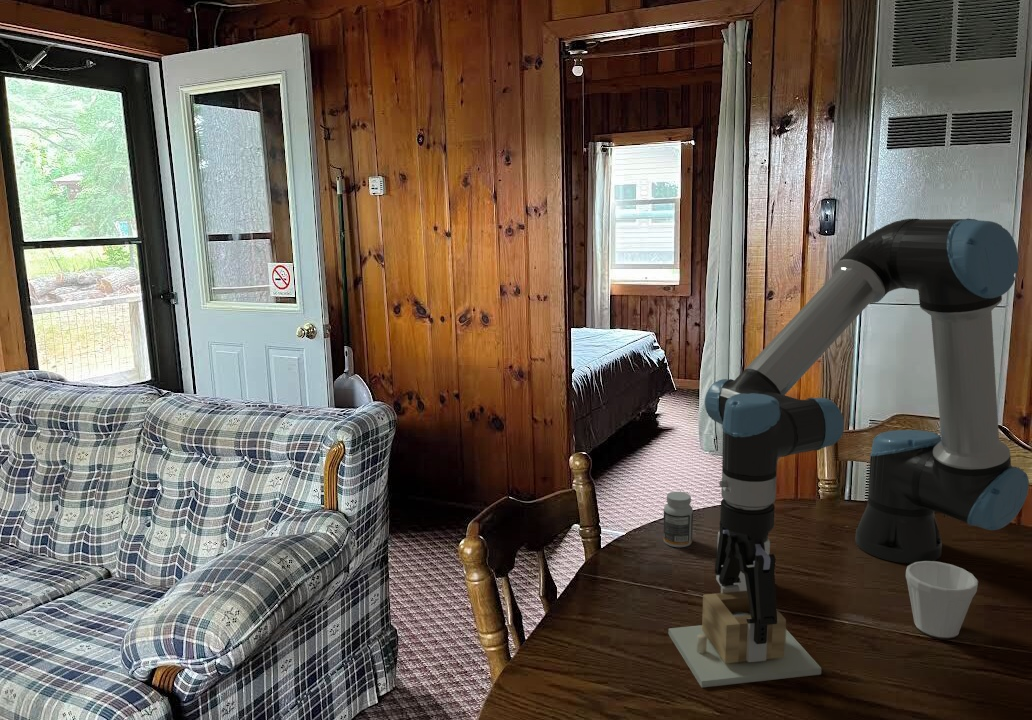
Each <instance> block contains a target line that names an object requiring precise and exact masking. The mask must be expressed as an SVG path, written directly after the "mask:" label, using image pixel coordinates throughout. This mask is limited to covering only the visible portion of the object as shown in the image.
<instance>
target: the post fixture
mask: <svg viewBox="0 0 1032 720" xmlns="http://www.w3.org/2000/svg"><path fill="white" fill-rule="evenodd" d="M732 615H733V616H734V617H738V616H748V615H751V614H749V613H746V612H735V613H733V614H732ZM668 636H669V638H670V639H671V641H672V642H673V644H674V646H675V647H676V649H677V650H678V652H679V654H680V655H681V657H682V658H683V660H684V662H685V663H686V665H687V666H688V669H690V671H691V673H692V675H693V677H695V679H696V681H697V684H699V686H700V687H701V688H708V687H709V688H710V687H718V686H719V687H720V686H727V685H728V686H729V685H737V684H748V683H755V682H764V681H772V680H774V681H775V680H781V679H791V678H800V677H801V678H803V677H808V676H809V677H810V676H820V675H822V667H821V666H820V665H819V663H818V662H816V660H815V659H814V658H813V657H812V655H810V654H809V652H808V651H806V649H805V648H804V647H803V646H802V645H801V643H799V642H798V641H797V639H796V638H795V637H794V636H793V635H792V634H791V633H790V631H788V629H787V628H786V629H785V647H784V657H779V658H770V659H766V661H756V662H748V661H741V662H731V663H725V662H724V661H723V659H722V658H721V656H720V655H719V654H718V652H717V651H716V649H715V648H714V646H713V645H712V644H711V642H710V641H709V639H708V638H707V636H706V635H705V634H704V632H703V631H702V624H701V625H699V624H698V625H690V626H681V627H672V628H671V627H670V628H668Z"/></svg>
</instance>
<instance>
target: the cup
mask: <svg viewBox="0 0 1032 720" xmlns="http://www.w3.org/2000/svg"><path fill="white" fill-rule="evenodd" d="M905 580H906V584H907V589H908V595H909V599H910V604H911V611H912V612H911V613H912V616H913V623H914V625H915V627H916V629H917V630H918V631H920V632H921V633H922V634H924V635H926V636H929V637H932V638H936V639H942V640H949V639H955V638H956V637H957V636H958V635H959V633H960V630H961V628H962V626H963V623H964V621H965V619H966V615H967V613H968V611H969V608H970V605H971V602H972V600H973V598H974V597H975V596H976V593H977V591H978V585H979V580H978V579H977V578H976V577H975V576H974V574H973V573H971V571H967V570H966V569H965V568H962V567H959V566H957V565H954V564H952V563H951V564H950V563H946V562H941V561H921V562H915V563H913V564H909V565H907V566H906V570H905Z"/></svg>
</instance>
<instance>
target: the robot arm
mask: <svg viewBox="0 0 1032 720" xmlns="http://www.w3.org/2000/svg"><path fill="white" fill-rule="evenodd" d="M1018 270H1019V252H1018V248H1017V245H1016V242H1015V240H1014V238H1013V236H1012V234H1011V233H1010V232H1009V231H1008V229H1006V228H1004V227H1003V225H1001V224H999V223H998V222H995V221H989V220H980V219H975V218H953V219H951V218H949V219H948V218H945V219H944V218H942V219H941V218H939V219H938V218H935V219H933V218H932V219H931V218H929V219H928V218H927V219H926V218H925V219H924V218H906V219H900V220H897V221H893V222H891V223H888V224H886V225H884V226H882V227H880V228H878V229H877V230H875V231H873V232H872V233H870V234H868V235H867V236H866V237H864V238H862V240H860V241H858V242H857V243H856V244H855V245H854V246H853V247H851V248H850V249H849V250H847V252H846V253H845V254H844V255H843V256H842V257H841V258H840V259H839V260H838V261H837V262H836V263H835V265H834V266H833V269H832V274H833V275H831V277H830V278H829V279H828V280H827V281H826V282H825V283H824V284H823V286H821V288H819V290H818V291H817V292H816V293H815V294H814V295H813V296H812V297H811V298H810V300H808V301H807V303H806V304H805V305H803V307H802V308H801V309H800V310H799V311H798V312H797V313H796V314H795V315H794V317H792V318H791V320H789V322H788V323H787V324H786V325H785V326H784V327H783V328H782V329H781V330H780V331H779V332H778V334H776V335H775V337H774V338H773V339H772V340H771V341H770V342H768V344H767V345H766V346H765V347H764V348H763V349H762V350H761V351H760V353H759V354H757V356H756V357H755V358H754V359H753V360H752V361H751V362H750V364H749V365H747V366H746V367H745V369H744V370H743V371H742V372H741V373H740V374H739V375H738V376H737V377H736V378H735V379H731V378H722V379H719V380H717V381H715V382H714V383H712V384H711V386H709V388H708V390H707V392H706V394H705V397H704V408H705V412H706V413H707V416H708V417H709V418H710V419H711V420H713V421H714V422H715V423H718V424H720V425H722V426H721V427H722V459H721V461H722V462H721V463H722V464H721V465H722V466H721V470H722V471H721V480H720V481H719V487H720V488H721V493H720V494H721V497H722V499H721V501H720V513H719V514H720V516H719V517H720V518H719V531H720V536H719V543H718V549H716V559H715V562H714V563H715V565H714V574H715V576H716V575H719V582H720V584H722V586H720V593H727V592H738V591H739V586H738V585H734V583H741V581H740V578H739V574H740V571H741V572H742V573H744V575H745V581H746V587H747V594H748V600H749V607H750V613H751V618H748V619H746V620H747V623H748V629H747V653H746V660H747V661H748V662H756V661H766V652H767V631H768V625H772V624H777V610H778V609H777V594H776V579H775V567H776V560H777V559H776V556H775V554H774V553H769V554H767V553H766V552H765V545H764V538H763V537H764V536H765V535H766V534H767V533H768V532H769V533H770V532H772V530H773V529H774V525H775V512H776V511H775V504H774V503H775V502H776V492H777V489H776V488H777V472H778V471H777V469H778V458H779V459H780V458H783V457H788V456H792V455H797V454H802V453H808V452H812V451H814V452H815V451H819V450H822V449H823V448H827V447H830V446H833V445H835V444H836V443H838V442H839V441H840V439H841V437H842V436H843V433H844V428H845V426H844V424H845V420H844V416H843V414H842V411H841V409H840V408H839V406H838V405H837V404H836V403H835V402H834V401H833V400H830V399H829V398H827V397H807V398H806V399H800V398H795V397H792V396H789V395H787V393H789V391H790V390H791V389H792V388H793V387H794V386H795V385H796V384H797V383H798V381H799V380H801V378H802V377H803V376H804V375H805V374H806V372H808V371H809V369H810V368H811V367H812V366H813V365H814V364H815V363H817V361H818V360H819V359H820V357H822V355H823V354H825V352H826V351H827V350H828V349H829V348H830V347H831V346H832V345H833V344H834V342H836V340H837V339H838V338H840V336H841V335H842V334H843V333H844V332H845V330H846V329H847V328H848V327H849V326H850V325H851V324H852V323H853V322H854V320H856V319H857V318H858V316H859V315H860V314H861V313H862V312H863V311H864V310H865V309H866V308H867V307H868V305H869V304H876V303H879V302H881V300H883V298H884V297H885V296H887V294H888V293H890V292H892V291H894V290H898V289H907V290H917V291H918V300H919V301H918V302H919V308H920V310H922V311H924V312H925V313H927V314H928V315H930V317H931V318H930V320H931V328H932V329H931V330H932V331H931V333H932V341H933V354H934V357H933V358H934V365H935V379H936V391H937V402H938V403H937V404H938V415H939V426H940V427H939V428H940V434H938V433H936V432H934V431H929V430H919V429H917V430H916V429H899V430H898V429H897V430H896V429H895V430H887V431H884V432H881V433H879V434H877V435H875V437H874V438H873V440H872V445H871V446H872V447H871V452H870V453H869V456H870V461H869V475H868V476H869V477H868V479H869V480H868V494H867V505H866V507H865V510H864V512H863V513H862V516H861V518H860V520H859V523H858V525H857V527H856V530H855V539H854V542H855V544H856V545H857V547H858V548H859V549H860V550H861V551H863V552H865V553H867V554H869V555H871V556H873V557H875V558H879V559H882V560H885V561H889V562H893V563H901V564H909V565H911V564H913V563H915V562H921V561H934V562H936V560H938V559H940V557H941V556H942V547H943V542H942V538H941V533H940V531H939V526H938V523H937V519H936V515H935V512H937V513H939V514H942V515H946V516H947V517H951V518H953V519H955V520H958V521H961V522H964V523H966V524H968V525H969V526H971V527H973V526H975V527H979V528H981V529H985V530H988V531H997V530H1000V529H1002V528H1005V527H1006V526H1008V525H1009V524H1010V523H1011V522H1012V521H1013V520H1014V519H1015V518H1016V517H1017V516H1018V514H1019V512H1021V509H1022V508H1023V506H1024V504H1025V501H1026V500H1027V499H1026V498H1027V497H1028V493H1029V486H1030V485H1029V484H1030V483H1029V480H1030V479H1029V477H1028V475H1027V473H1026V472H1025V471H1024V470H1023V469H1021V468H1020V467H1017V466H1016V465H1015V466H1013V465H1012V459H1011V458H1012V457H1011V450H1010V448H1009V447H1008V445H1007V444H1006V443H1005V442H1003V441H1001V440H1000V434H999V419H998V403H997V402H998V401H997V381H996V367H995V366H996V365H995V347H994V332H993V314H992V313H993V312H992V311H993V310H994V309H995V308H996V307H997V306H999V305H1000V303H1001V302H1002V301H1003V295H1005V294H1006V293H1007V292H1009V290H1010V289H1011V288H1012V287H1013V285H1014V283H1015V281H1016V277H1015V274H1018ZM721 565H723V567H721ZM746 565H754V567H747V566H746ZM720 584H719V585H720Z"/></svg>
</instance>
